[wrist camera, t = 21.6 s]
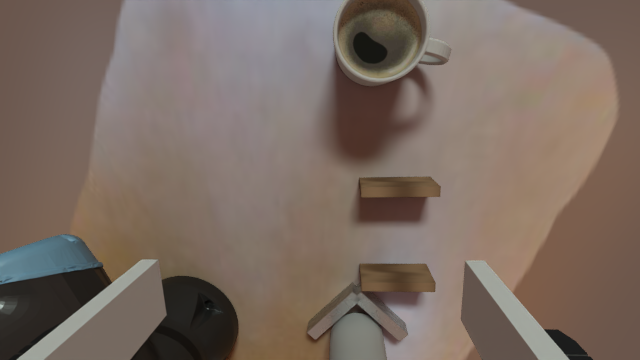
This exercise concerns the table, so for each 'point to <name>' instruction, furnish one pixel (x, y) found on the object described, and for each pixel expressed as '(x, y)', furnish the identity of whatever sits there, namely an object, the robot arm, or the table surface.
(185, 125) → the table surface
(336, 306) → the v block
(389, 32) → the mug
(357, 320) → the can
